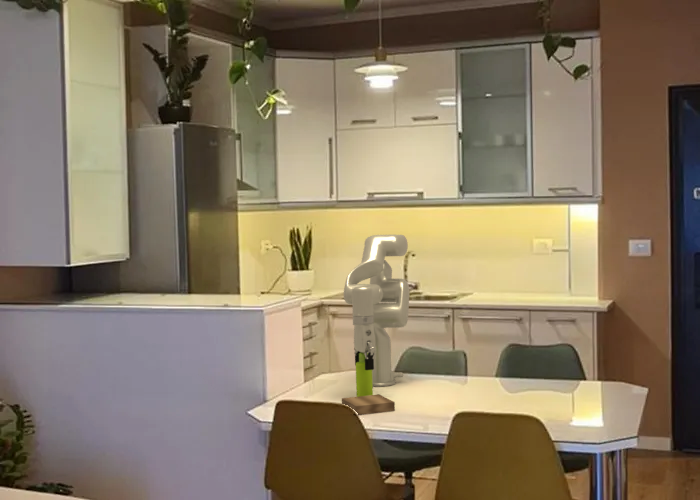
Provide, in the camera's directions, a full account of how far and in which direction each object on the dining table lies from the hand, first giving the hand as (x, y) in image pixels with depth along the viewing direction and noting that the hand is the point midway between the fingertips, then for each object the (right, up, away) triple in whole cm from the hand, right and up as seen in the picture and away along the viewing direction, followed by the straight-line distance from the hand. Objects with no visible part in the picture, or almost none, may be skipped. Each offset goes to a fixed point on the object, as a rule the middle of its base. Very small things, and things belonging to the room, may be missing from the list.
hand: (364, 367), depth 323 cm
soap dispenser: (0, -12, +1) cm, 12 cm away
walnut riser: (+1, -12, -15) cm, 19 cm away
